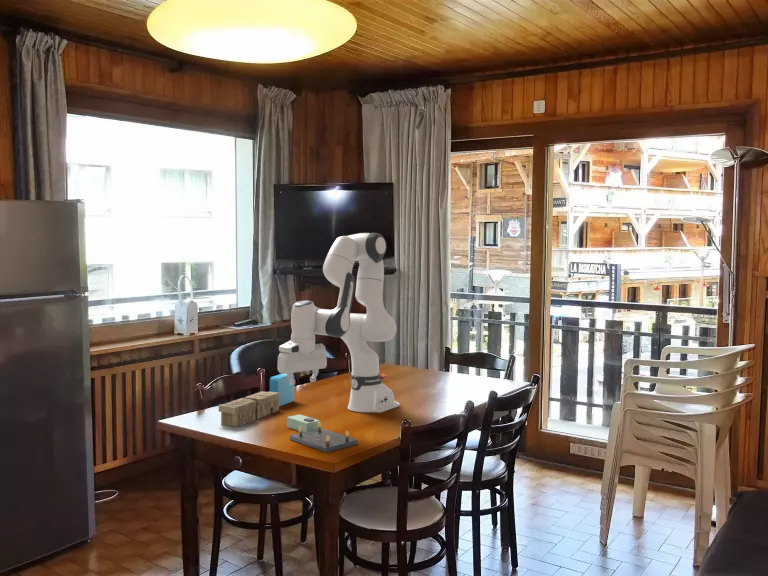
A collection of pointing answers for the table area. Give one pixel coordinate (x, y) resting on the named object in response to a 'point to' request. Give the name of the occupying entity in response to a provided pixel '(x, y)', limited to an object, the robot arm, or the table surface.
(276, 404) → the block tower
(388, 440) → the table surface
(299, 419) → the pale green block
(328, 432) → the plate
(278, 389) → the data package
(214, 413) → the table surface
